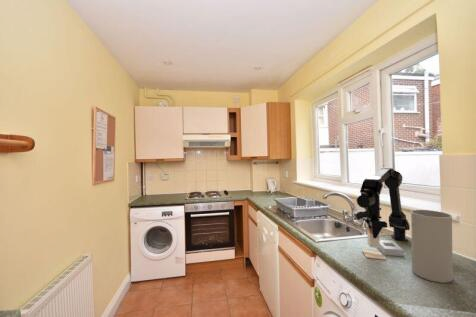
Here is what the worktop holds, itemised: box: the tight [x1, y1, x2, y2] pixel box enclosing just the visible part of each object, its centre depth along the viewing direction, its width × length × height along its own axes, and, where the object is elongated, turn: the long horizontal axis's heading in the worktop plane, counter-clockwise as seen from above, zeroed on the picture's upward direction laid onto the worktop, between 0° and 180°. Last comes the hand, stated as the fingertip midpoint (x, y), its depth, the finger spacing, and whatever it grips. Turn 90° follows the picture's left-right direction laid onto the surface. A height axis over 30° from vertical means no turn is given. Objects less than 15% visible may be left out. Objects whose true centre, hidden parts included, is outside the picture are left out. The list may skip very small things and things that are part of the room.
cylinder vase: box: [410, 209, 454, 284], centre depth 91 cm, size 12×12×25 cm
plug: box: [366, 227, 380, 249], centre depth 110 cm, size 4×4×8 cm
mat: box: [361, 250, 387, 261], centre depth 110 cm, size 8×8×1 cm
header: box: [378, 239, 404, 257], centre depth 116 cm, size 12×8×3 cm, turn 166°
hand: (373, 236), depth 110 cm, fingers closed on plug, 4 cm apart
